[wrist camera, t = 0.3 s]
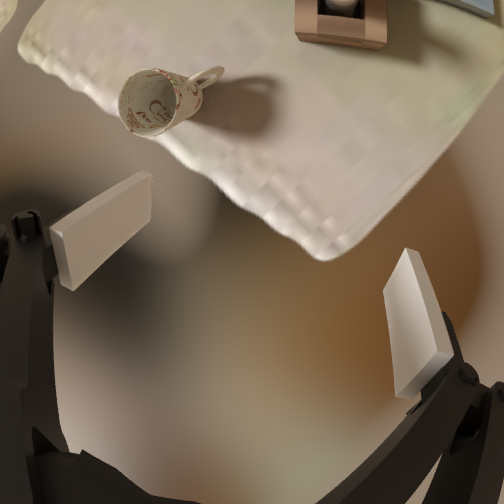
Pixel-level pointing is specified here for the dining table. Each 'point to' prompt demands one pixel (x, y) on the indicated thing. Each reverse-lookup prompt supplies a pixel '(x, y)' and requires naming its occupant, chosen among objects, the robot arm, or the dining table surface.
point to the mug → (161, 99)
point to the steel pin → (341, 8)
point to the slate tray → (474, 6)
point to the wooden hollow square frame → (343, 25)
